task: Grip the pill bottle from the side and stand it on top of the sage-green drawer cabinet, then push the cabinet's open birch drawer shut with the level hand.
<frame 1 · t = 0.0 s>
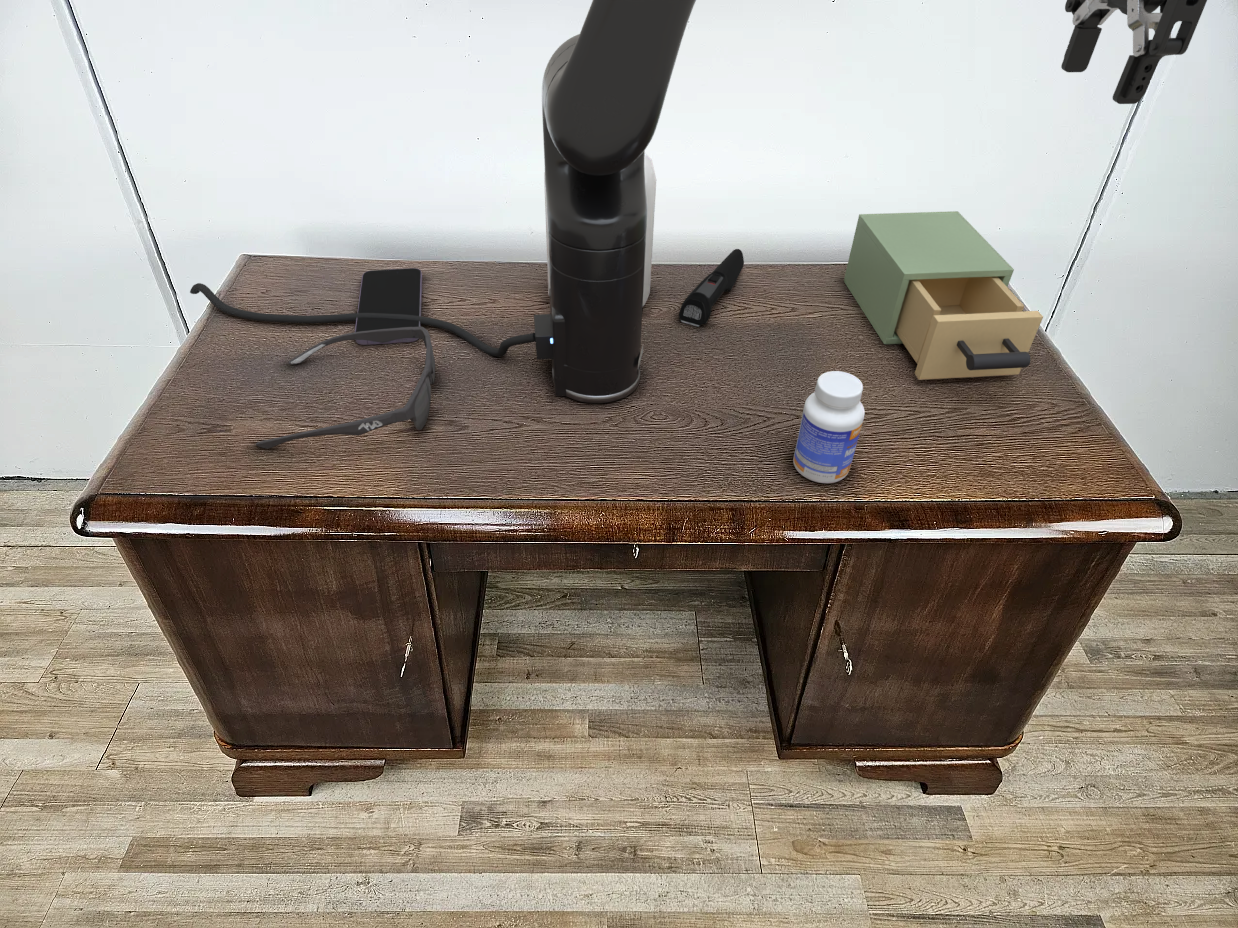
hand: (1097, 86, 73), 29 cm above the table, tool pointing down, fingers open, 8 cm apart
pill bottle: (819, 467, 79), on the table
can: (598, 297, 101), on the table
smartphone: (391, 310, 98), on the table
cabinet: (912, 309, 100), on the table
drawer: (961, 325, 89), point 5 cm above the table, slide at 7.0 cm
electric trimmer: (711, 297, 102), on the table
sunglasses: (356, 403, 84), on the table
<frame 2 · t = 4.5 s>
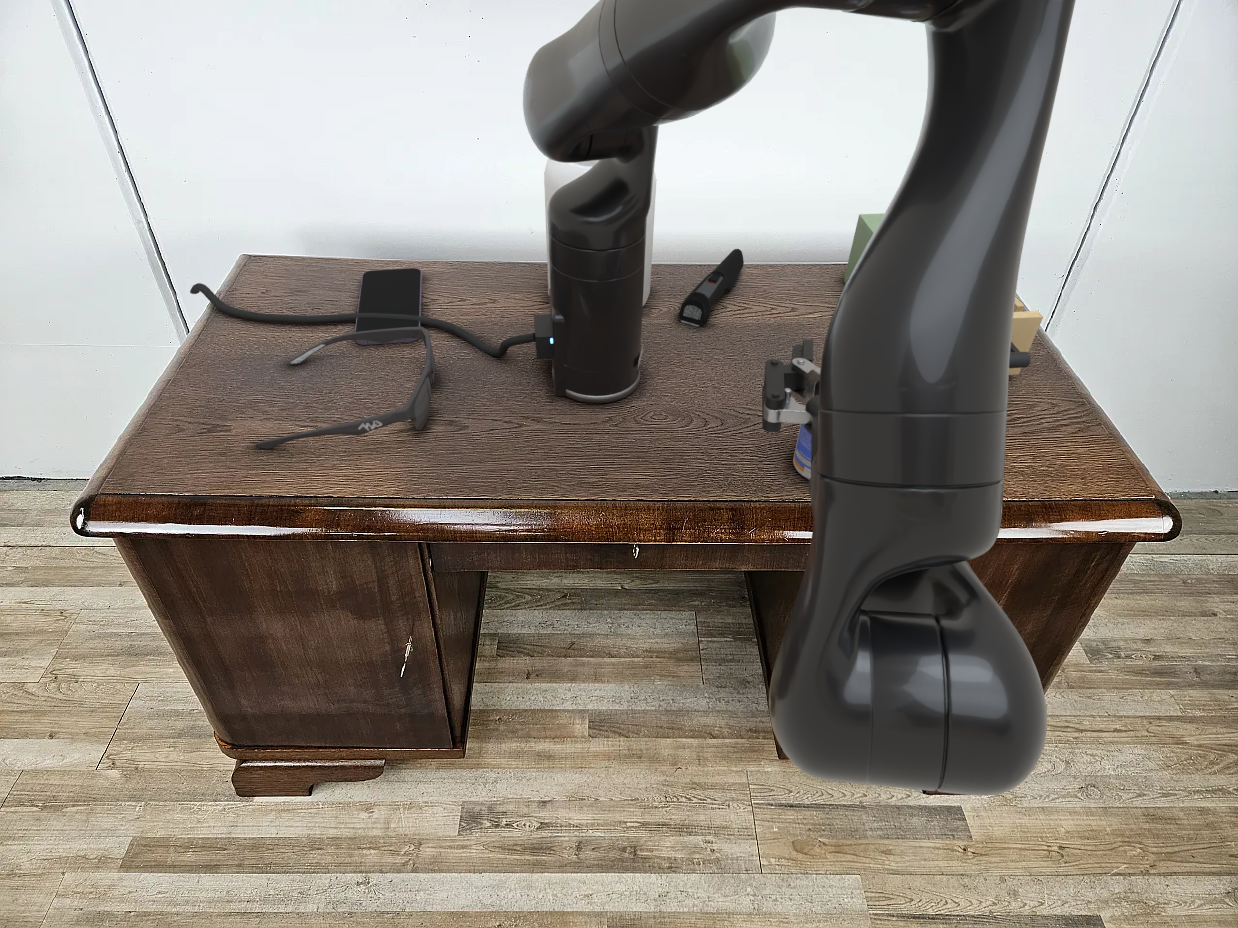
hand: (864, 356, 61), 18 cm above the table, tool horizontal, fingers open, 8 cm apart
nothing on the table moved.
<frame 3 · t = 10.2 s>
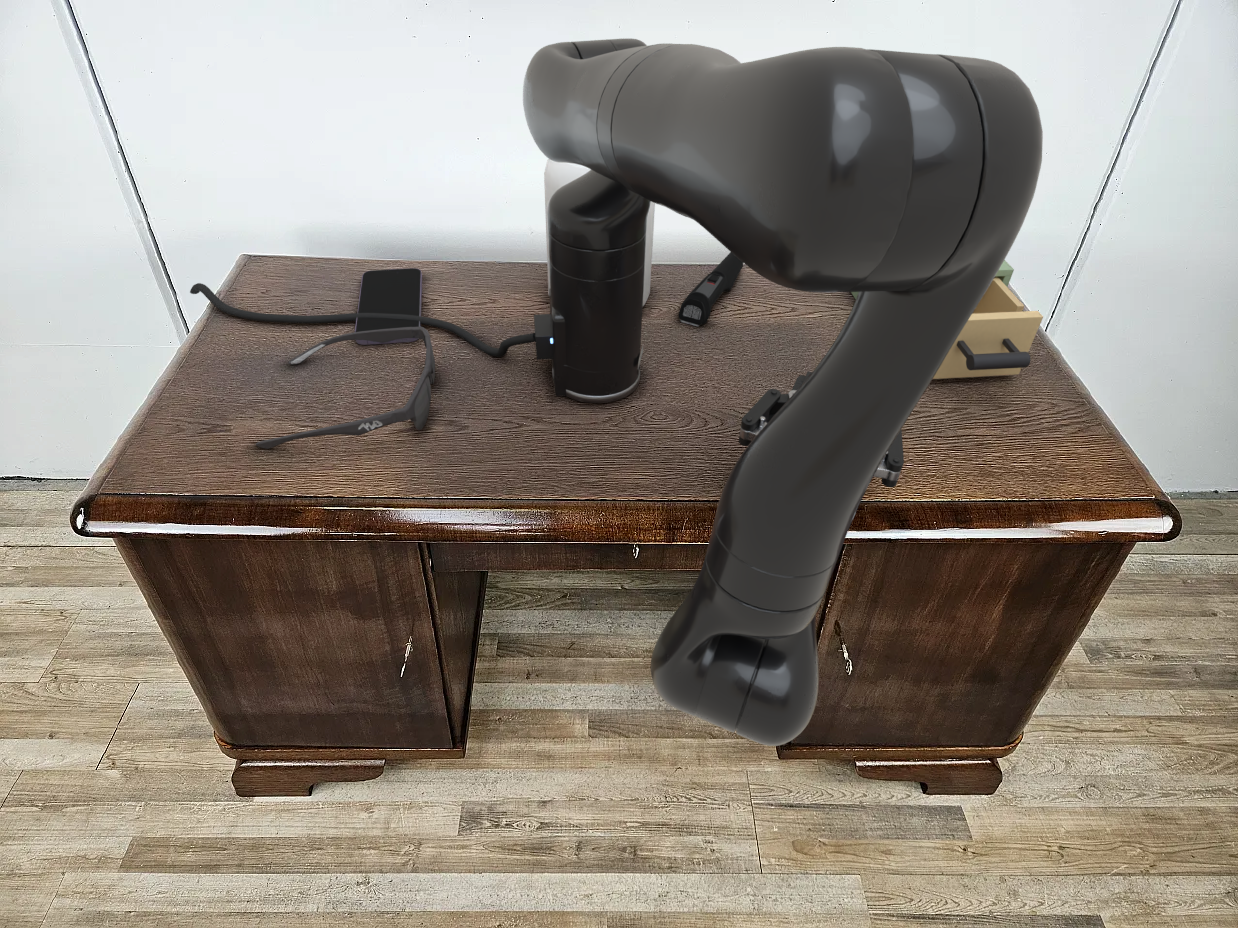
hand: (841, 388, 75), 8 cm above the table, tool horizontal, fingers closed on pill bottle, 5 cm apart
pill bottle: (819, 467, 79), on the table, touching gripper
everything else where it was.
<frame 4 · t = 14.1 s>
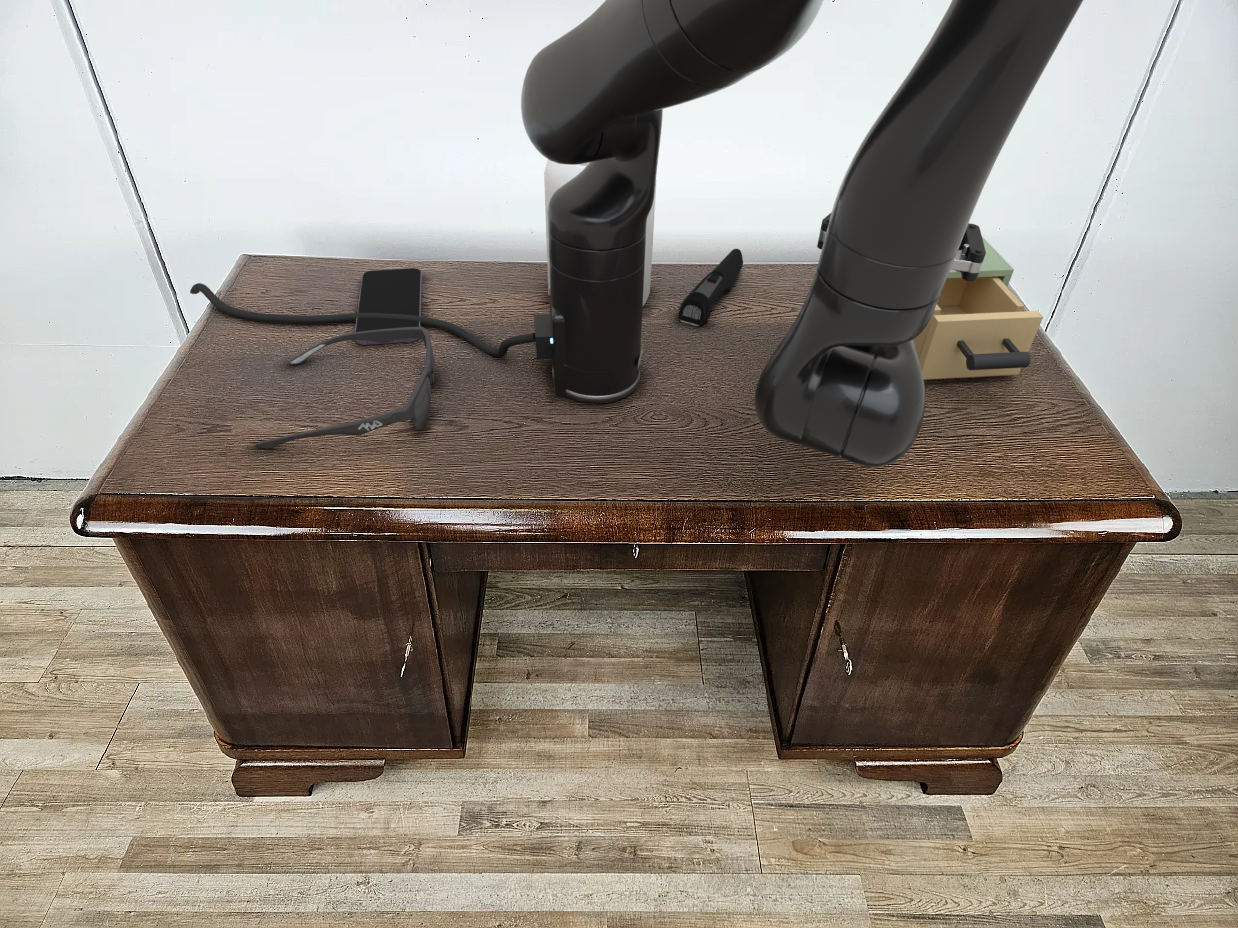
hand: (915, 206, 76), 20 cm above the table, tool horizontal, fingers closed on pill bottle, 5 cm apart
pill bottle: (890, 292, 80), point 12 cm above the table, touching gripper
everything else where it was.
when the fingers open (17 cm above the table, at t = 18.1 s): pill bottle stays where it is, resting on cabinet.
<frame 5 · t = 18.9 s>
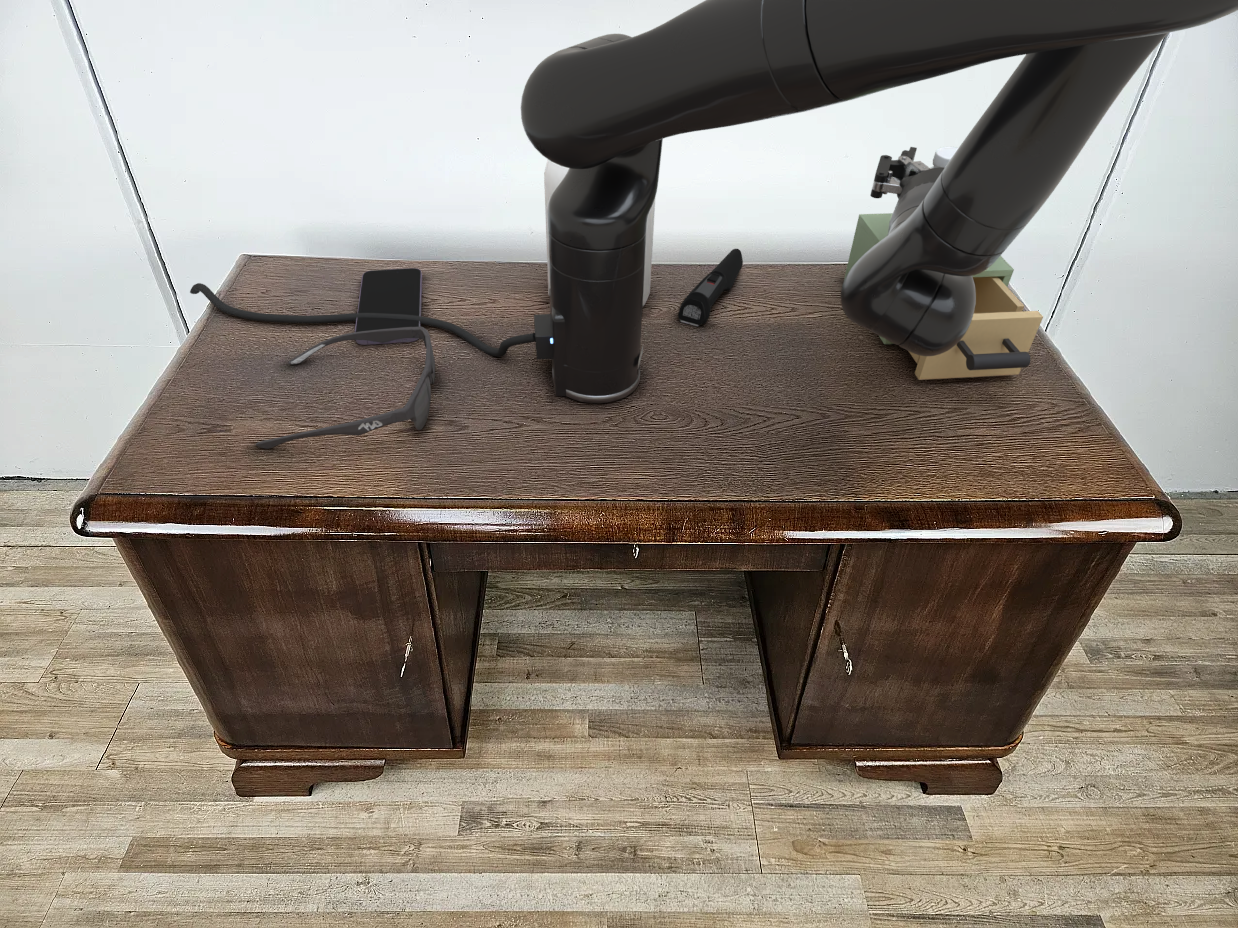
hand: (950, 162, 91), 17 cm above the table, tool horizontal, fingers open, 8 cm apart
pill bottle: (930, 238, 95), point 9 cm above the table, touching cabinet
everything else where it was.
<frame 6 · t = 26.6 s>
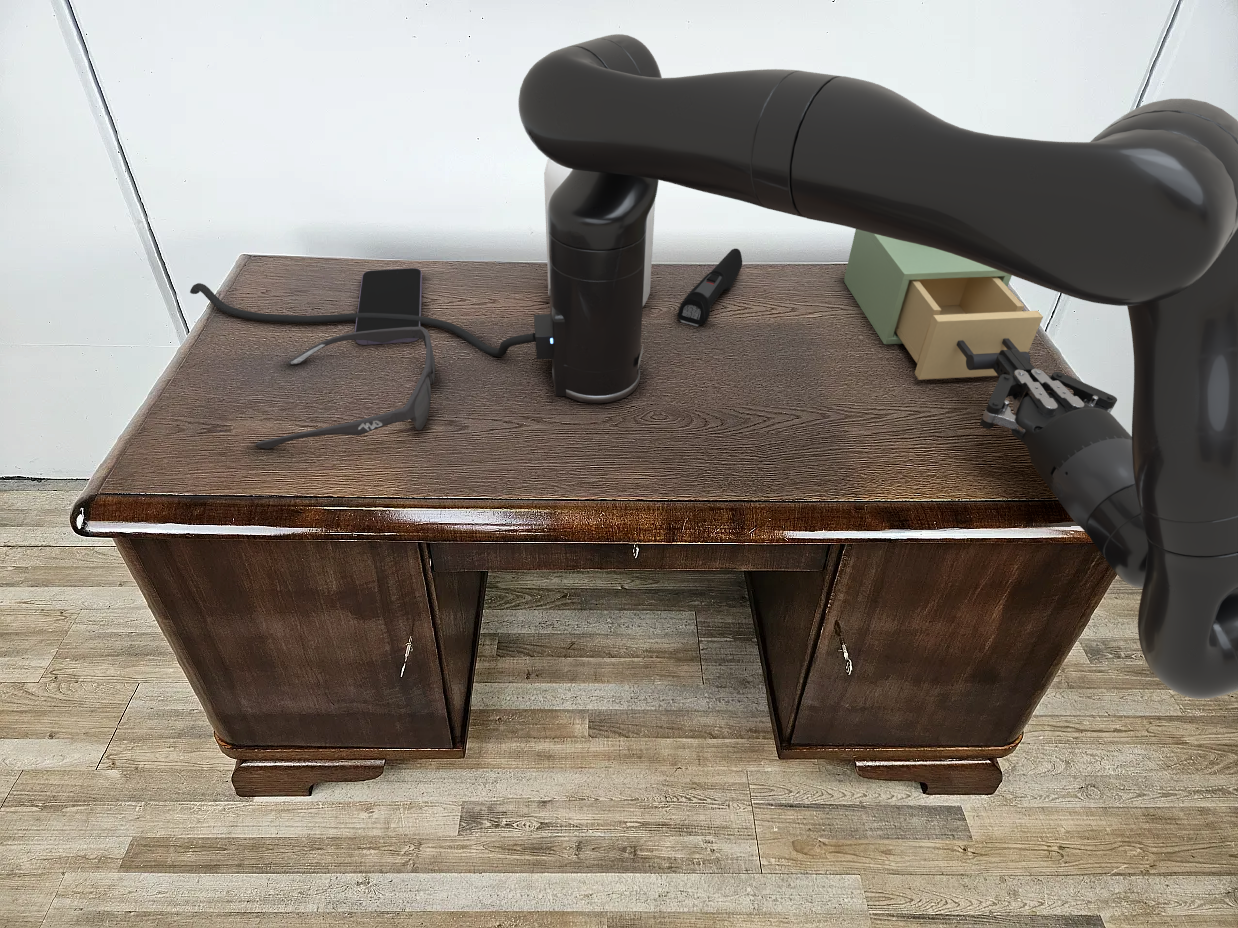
hand: (1004, 357, 82), 6 cm above the table, tool horizontal, fingers closed
drawer: (961, 325, 89), point 5 cm above the table, slide at 7.0 cm, touching gripper
everything else where it was.
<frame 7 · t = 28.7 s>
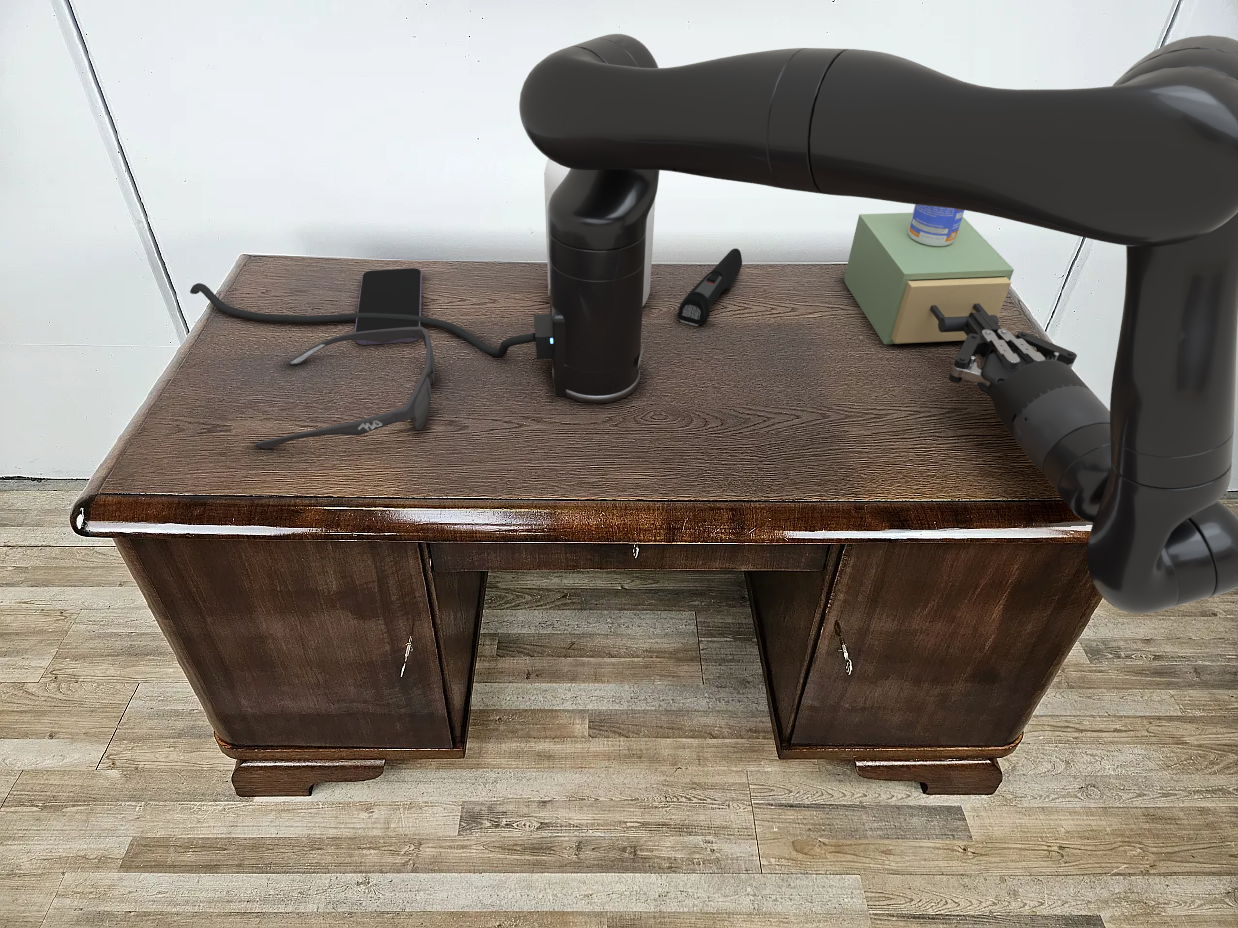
hand: (973, 319, 87), 6 cm above the table, tool horizontal, fingers closed
drawer: (935, 292, 95), point 5 cm above the table, slide at 0.0 cm, touching cabinet, gripper
everything else where it was.
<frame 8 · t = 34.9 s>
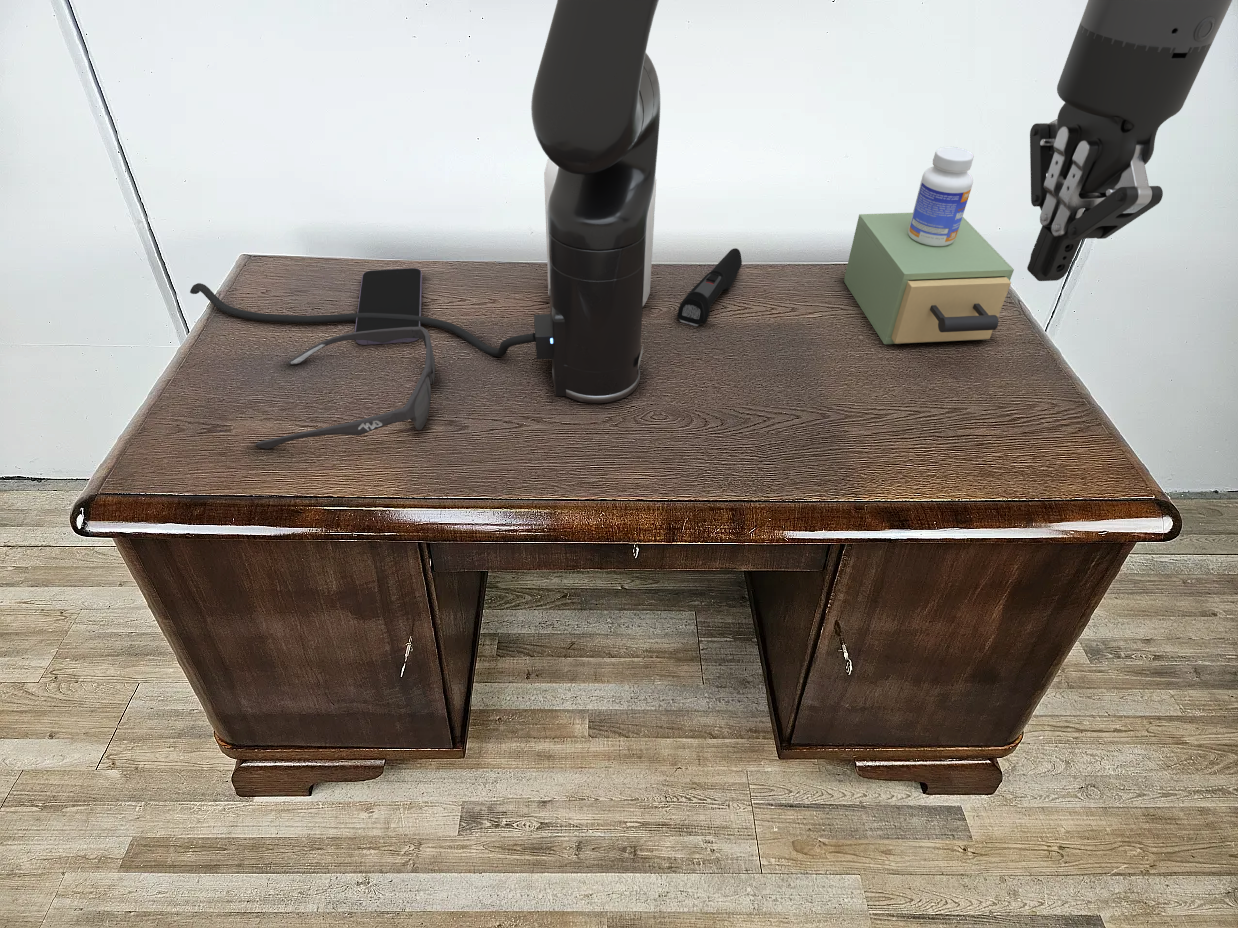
hand: (1043, 276, 62), 22 cm above the table, tool pointing down, fingers closed
drawer: (935, 292, 95), point 5 cm above the table, slide at 0.0 cm, touching cabinet
everything else where it was.
at the end: drawer slide at 0.0 cm; pill bottle inside the target area on the cabinet (0.9 cm from its centre), point 8.9 cm above the cabinet's base; pill bottle tilted 0° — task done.
